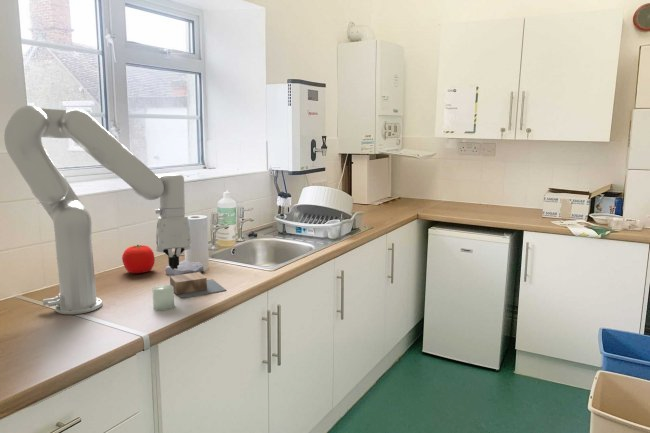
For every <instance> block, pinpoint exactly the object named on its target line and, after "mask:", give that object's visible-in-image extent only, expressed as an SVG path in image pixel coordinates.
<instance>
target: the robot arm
mask: <svg viewBox="0 0 650 433" xmlns="http://www.w3.org/2000/svg"><path fill="white" fill-rule="evenodd" d="M3 136H4V140H3V141H4V146H5V149H6V151H7V153H8V156H9V157H10V159H11V161H12V162H13V164H14V165H15V167H16V168H17V170H18V172H19V174H20V175H21V176H22V178H23V179H24V181H25V182H26V184H27V185H28V187H29V188H30V190H31V194H33V196H34V197H35V198H36V199H37V200H38V201H39V203H40V204H41V205H42V207H43V209H44V210H45V211H46V213H47V214H48V216H49V217H50V219H51V220H52V221H53V229H54V240H55V241H54V242H55V254H56V262H57V263H56V264H57V272H58V283H59V292H58V295H56V296H54V297H51V298H50V297H49V298H43V299H42V304H43V306H48V307H53V306H55V312H57V313H58V314H61V315H80V314H84V313H85V314H86V313H89V312H90V313H91V312H93V311H96V310H98V309H99V308H101V307H102V306H103V300H102V299H101V298H99V297H97V291H96V279H95V276H96V275H95V267H94V264H95V263H94V253H93V236H92V233H93V232H92V231H93V226H92V218H91V214H90V212H89V211H88V209H87V208H86V206H84V205H83V203H82V202H81V200H80V199H79V197H78V195H77V194H76V192H75V191H74V190H73V188H72V186H71V185H70V183H69V182H68V180H67V178H66V177H65V175H64V174H63V173H61V172H60V170H59V169H58V168H57V166H56V165H55V163H54V162H53V160H52V159H51V157H50V155H49V153H48V152H47V150H46V149H45V147H44V146H43V143H42V138H47V139H48V138H50V139H51V138H52V139H53V138H54V139H71V141H73V142H74V143H75V144H76V145H78V146H79V147H80V148H82V150H84V152H86V153H88V154H89V155H90V156H91V157H92V159H93V160H95V161H96V162H97V163H99V164H100V165H101V166H103V168H105V169H107V170H108V171H110V172H112V173H113V174H114V175H116V176H118V177H119V178H120V179H121V180H123V182H125V183H126V184H127V185H129V186H130V187H131V188H132V190H133V191H134V193H135V194H136V195H137V196H140V197H141V198H143V199H145V200H148V201H155V200H158V199H159V208H158V209H155V215H160V216H158V218H157V223H156V235H155V238H156V240H155V241H156V248H155V250H156V252H157V253H163V254H165V255H166V256H168V257H167V258H168V259H167V260H168V265H169V266H170V267H171V268H172V269H178V265H179V262H180V256H181V254H183V252H184V251H187V250H190V249H191V243H192V240H191V230H190V222H189V218H188V216H186V211H185V210H186V209H185V208H186V207H185V204H186V203H185V201H186V200H185V178H184V176H183V175H182V174H180V173H165V174H155V172H154V171H152V170H151V169H150V167H148V166H147V165H146V164H145V163H143V161H142V160H140V159H139V158H138V157H137V156H136V155H134V154H133V153H132V152H131V151H130V150H129V148H127V147H126V146H125V145H124V144H122V142H120V141H119V140H118V139H117V138H115V136H114V135H113V134H111V133H110V132H109V131H108V129H106V128H105V127H103V126H102V124H100V123H99V122H98V121H97V120H96V119H95V118H94V117H92V115H90V114H89V113H88V112H87V111H85V110H84V109H79V108H74V109H59V108H58V109H57V108H43V107H37V106H34V105H24V106H21V107H19V108H17V109H16V111H15V112H14V113H13V114H12V115H11V117H10V118H9V120H8V122H7V123H6V125H5V128H4V135H3ZM173 249H174V252H173Z"/></svg>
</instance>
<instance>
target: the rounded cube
mask: <svg viewBox="0 0 650 433" xmlns="http://www.w3.org/2000/svg"><path fill="white" fill-rule="evenodd" d="M152 302H153V303H152V305H153V306H152V307H153V310H156V311H168V310H169V311H170V310H171V309H174V308H175V292H174V288H173V286H171V285H170V284H161V285H156V286H154V287H153V288H152Z"/></svg>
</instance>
